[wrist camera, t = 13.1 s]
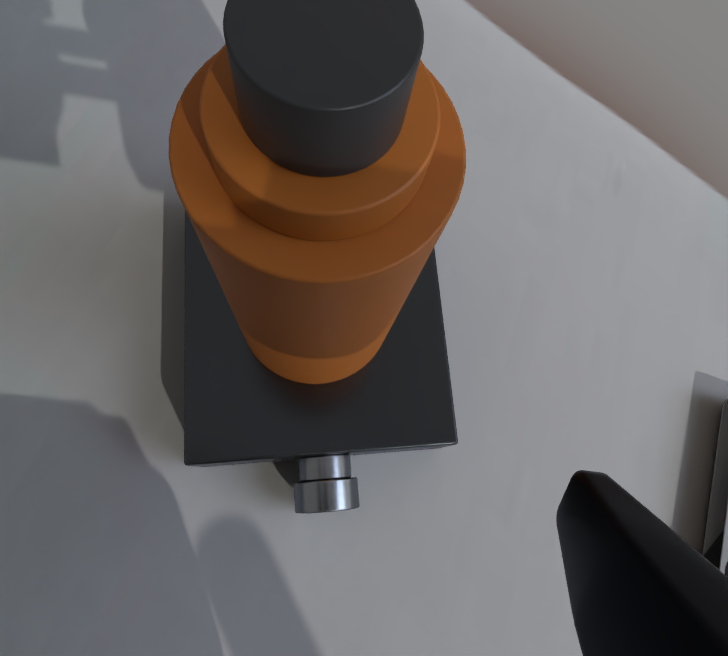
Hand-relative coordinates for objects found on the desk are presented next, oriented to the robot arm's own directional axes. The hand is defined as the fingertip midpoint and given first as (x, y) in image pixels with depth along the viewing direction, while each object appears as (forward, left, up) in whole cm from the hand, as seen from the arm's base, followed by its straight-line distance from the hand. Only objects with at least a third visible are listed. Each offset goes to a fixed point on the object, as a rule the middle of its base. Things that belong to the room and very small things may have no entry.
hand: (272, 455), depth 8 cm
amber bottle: (+5, -2, -10) cm, 11 cm away
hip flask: (+5, -2, -13) cm, 14 cm away
